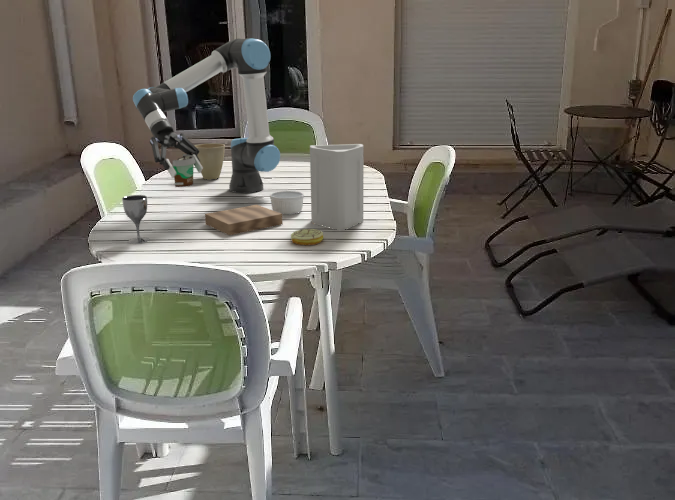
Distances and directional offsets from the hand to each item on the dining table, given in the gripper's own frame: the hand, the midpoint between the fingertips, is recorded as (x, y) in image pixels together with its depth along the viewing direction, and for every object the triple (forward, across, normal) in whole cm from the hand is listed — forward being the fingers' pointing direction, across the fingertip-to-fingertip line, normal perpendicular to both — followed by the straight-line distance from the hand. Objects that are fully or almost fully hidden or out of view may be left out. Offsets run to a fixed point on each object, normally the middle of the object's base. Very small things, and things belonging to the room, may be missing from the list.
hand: (187, 173), depth 244 cm
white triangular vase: (+43, -35, +16) cm, 58 cm away
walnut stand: (+24, -12, -2) cm, 27 cm away
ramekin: (+23, -36, -4) cm, 43 cm away
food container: (+2, -1, -6) cm, 6 cm away
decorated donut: (+48, -12, +20) cm, 53 cm away
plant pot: (-29, -55, -56) cm, 84 cm away
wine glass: (+16, +25, -11) cm, 31 cm away
